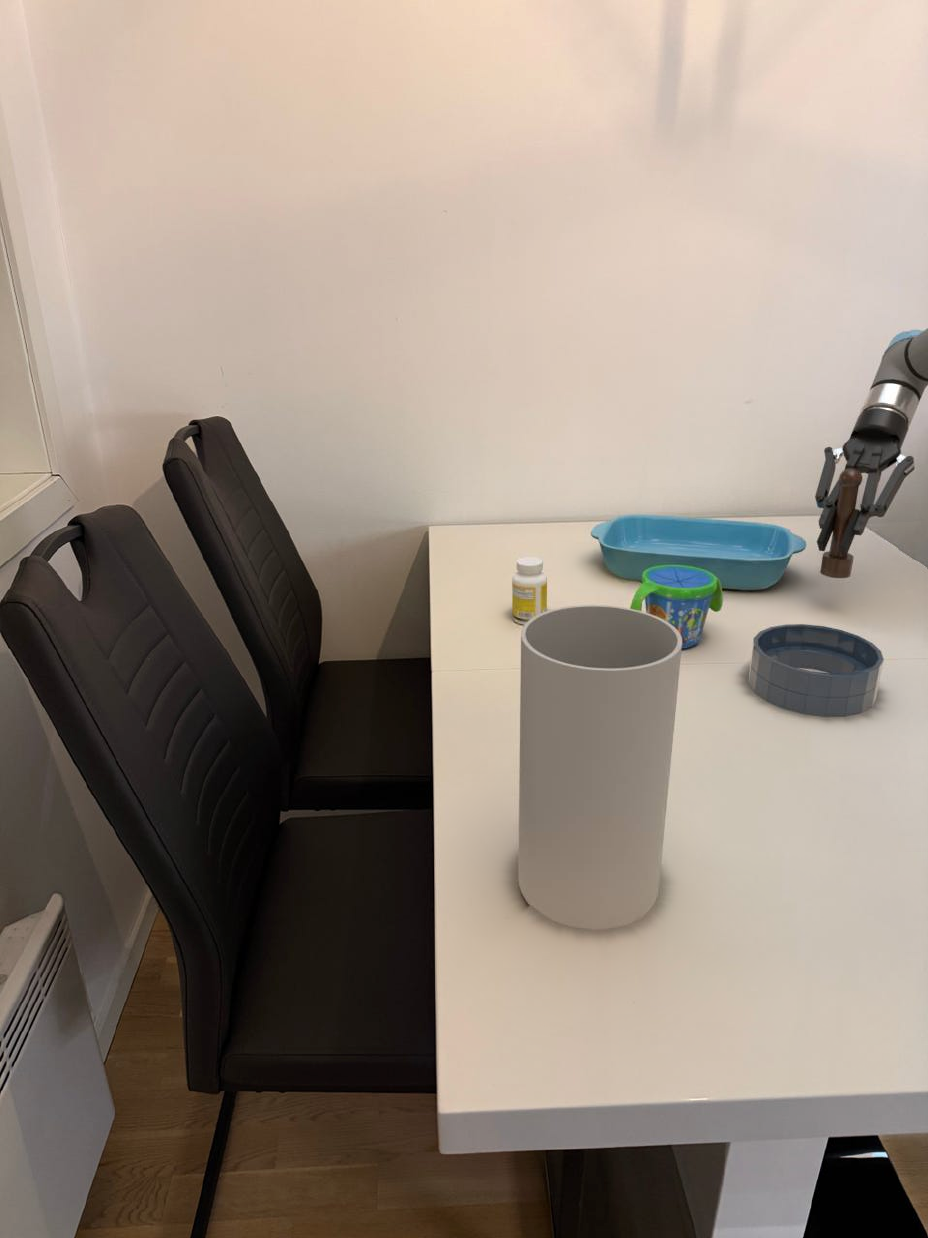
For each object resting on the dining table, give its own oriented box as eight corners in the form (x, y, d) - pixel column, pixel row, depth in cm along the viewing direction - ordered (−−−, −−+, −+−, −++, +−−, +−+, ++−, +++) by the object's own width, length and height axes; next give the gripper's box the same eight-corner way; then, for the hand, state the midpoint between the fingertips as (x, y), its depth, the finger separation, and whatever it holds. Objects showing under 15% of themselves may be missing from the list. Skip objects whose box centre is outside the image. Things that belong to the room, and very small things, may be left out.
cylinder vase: (645, 843, 81) (665, 604, 71) (669, 939, 70) (697, 670, 60) (516, 841, 82) (519, 605, 72) (519, 936, 70) (523, 670, 61)
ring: (885, 685, 110) (894, 640, 107) (858, 736, 99) (868, 687, 96) (768, 658, 118) (774, 615, 116) (731, 701, 107) (737, 655, 104)
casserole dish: (578, 581, 147) (580, 543, 145) (601, 543, 167) (603, 509, 164) (802, 604, 136) (808, 562, 133) (799, 561, 156) (804, 523, 153)
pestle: (853, 572, 131) (871, 467, 125) (846, 580, 128) (864, 472, 122) (824, 567, 134) (840, 463, 127) (816, 575, 130) (832, 469, 124)
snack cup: (697, 619, 131) (703, 557, 127) (740, 645, 122) (748, 580, 118) (609, 635, 126) (613, 571, 122) (646, 663, 117) (651, 595, 113)
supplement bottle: (536, 610, 136) (537, 553, 132) (552, 622, 131) (554, 563, 127) (506, 616, 134) (506, 558, 130) (521, 628, 129) (522, 568, 125)
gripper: (939, 440, 129) (889, 571, 124) (835, 430, 139) (784, 551, 134) (937, 410, 124) (884, 545, 119) (829, 401, 133) (775, 526, 128)
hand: (831, 548), depth 126 cm, fingers closed on pestle, 3 cm apart
